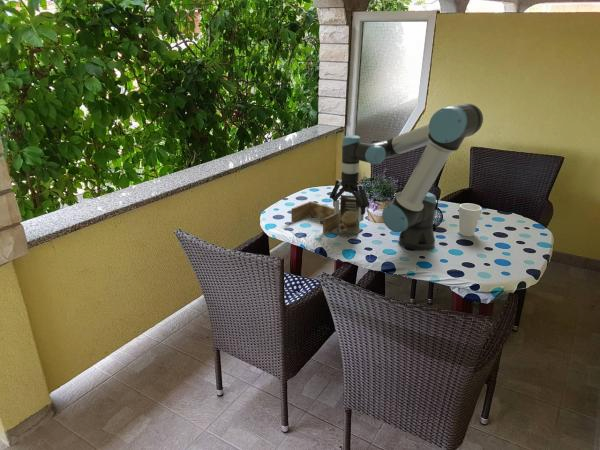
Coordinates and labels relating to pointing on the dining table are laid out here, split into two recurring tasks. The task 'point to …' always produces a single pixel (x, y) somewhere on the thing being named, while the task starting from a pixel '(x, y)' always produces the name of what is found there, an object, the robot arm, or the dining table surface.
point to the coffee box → (349, 215)
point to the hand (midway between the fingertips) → (348, 217)
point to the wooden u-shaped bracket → (317, 214)
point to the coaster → (345, 235)
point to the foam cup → (468, 218)
